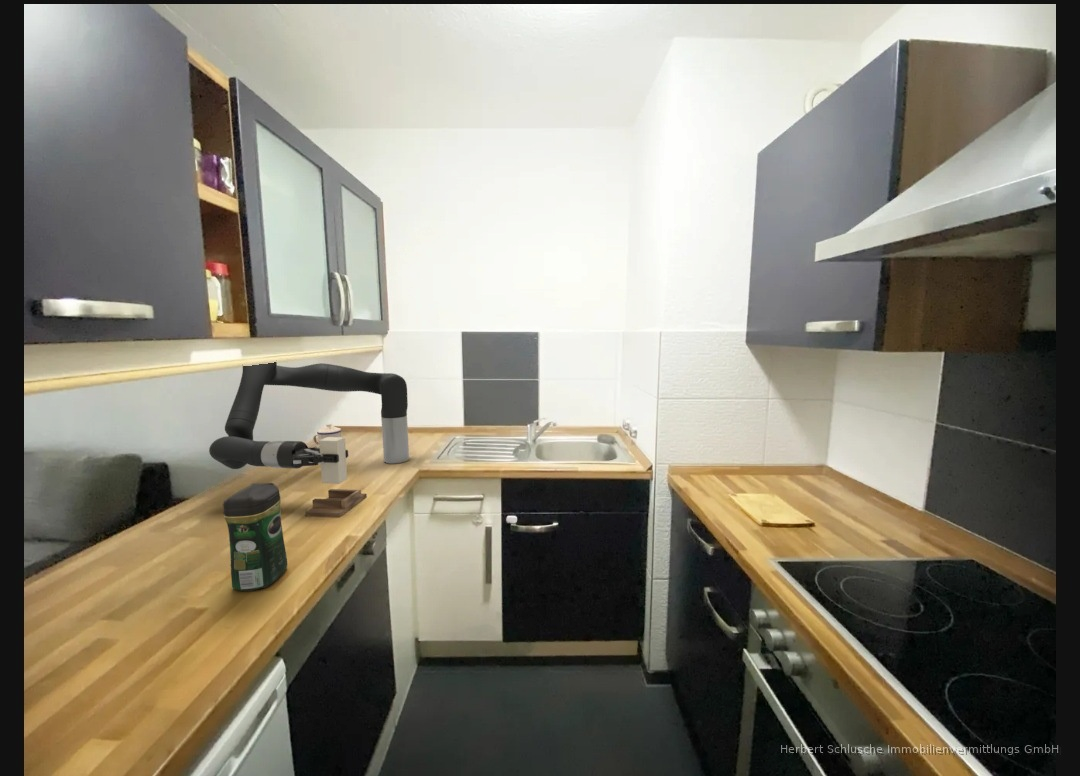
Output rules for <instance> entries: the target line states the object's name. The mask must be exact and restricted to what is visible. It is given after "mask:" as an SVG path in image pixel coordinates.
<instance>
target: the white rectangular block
mask: <svg viewBox="0 0 1080 776" xmlns="http://www.w3.org/2000/svg"><path fill="white" fill-rule="evenodd" d="M319 445H320V453H323V454H338V455H339V462H337V463H326V462H325V463H323V464H321V463H320V473H321V474H320V475H321V484H332V485H333V484H336V485H339V484H341V483H343V482H345V481H347V480H348V468H347V458H346V450H347V449H346V437H342V436H341V437H327V438H324V439H322V440H319Z"/></svg>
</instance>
